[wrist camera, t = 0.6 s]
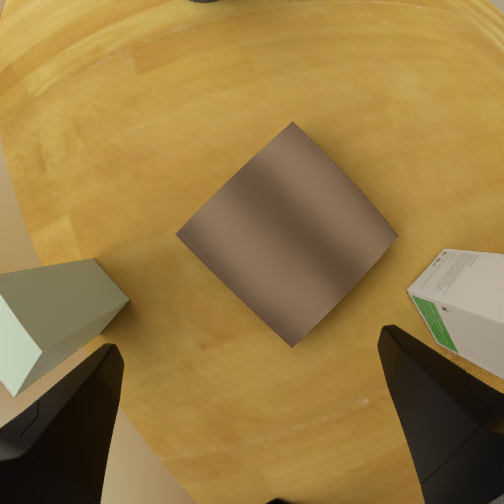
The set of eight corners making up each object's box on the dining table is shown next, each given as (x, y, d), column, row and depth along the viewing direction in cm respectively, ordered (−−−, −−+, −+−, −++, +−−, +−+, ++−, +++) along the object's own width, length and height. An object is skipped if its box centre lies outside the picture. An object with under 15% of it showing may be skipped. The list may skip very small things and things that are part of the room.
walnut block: (286, 335, 24) (292, 347, 22) (183, 234, 24) (175, 234, 21) (382, 235, 24) (398, 235, 21) (286, 134, 24) (292, 121, 21)
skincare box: (403, 288, 25) (534, 334, 9) (445, 243, 25) (574, 252, 9) (437, 346, 25) (542, 408, 10) (474, 303, 25) (582, 337, 10)
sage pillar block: (99, 334, 24) (14, 397, 11) (65, 295, 24) (-33, 331, 11) (129, 299, 24) (42, 351, 11) (92, 258, 24) (-11, 276, 11)
